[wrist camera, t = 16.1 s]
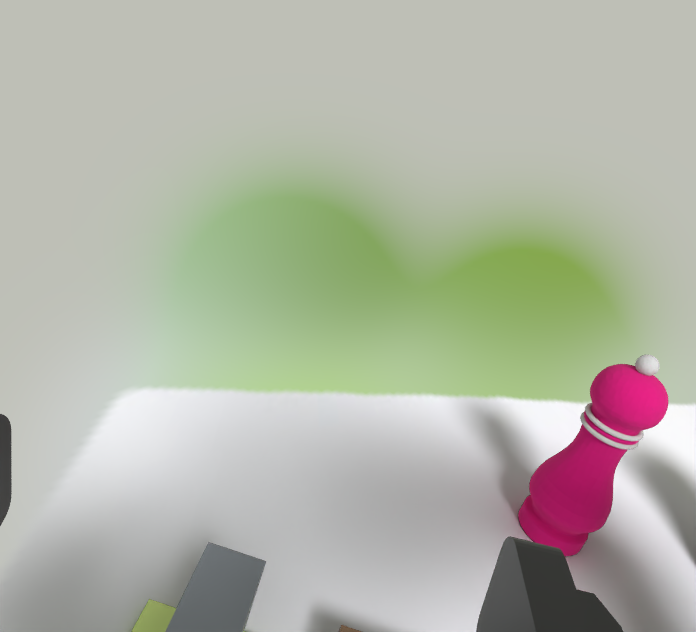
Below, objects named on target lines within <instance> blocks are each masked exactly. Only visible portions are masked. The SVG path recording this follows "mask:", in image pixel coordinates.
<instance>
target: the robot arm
mask: <svg viewBox="0 0 696 632" xmlns="http://www.w3.org/2000/svg"><path fill="white" fill-rule="evenodd" d="M10 502H11V425H10V422H9V420H8V418H7V417H6V416H4V415H2V414H0V525H1V524H2V522H3V520H4V518H5V516H6V514H7V512H8V509H9V506H10ZM476 632H623V630H622V628H621V626H620V625H619V624H618V623H617V621H616V620H615V619H614V618H613V616H612V615H611V614H610V613H609V611H608V610H607V609H606V608H605V607H604V605H603V604H602V603H601V602H600V600H599V599H598V598H597V597H596V595H595V594H593V593H589V592H584V591H580V590H576V587H575V585H574V582H573V579H572V576H571V573H570V570H569V567H568V565H567V562H566V559H565V556H564V554H563V552H562V551H561V549H559V548H556V547H552V546H548V545H543V544H539V543H535V542H531V541H526V540H522V539H518V538H514V537H508V538H507V539H506V540H505V541H504V543H503V545H502V548H501V551H500V554H499V557H498V560H497V563H496V566H495V569H494V572H493V575H492V578H491V581H490V584H489V588H488V591H487V594H486V597H485V600H484V603H483V606H482V609H481V612H480V615H479V619H478V624H477V631H476Z"/></svg>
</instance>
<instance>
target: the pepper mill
mask: <svg viewBox="0 0 696 632" xmlns="http://www.w3.org/2000/svg"><path fill="white" fill-rule="evenodd" d="M659 366H660V365H659V361H658V360H657V359H656V358H655V357H654V356H652V355H642V356H640V357H639V358H638V359H637V360H636V363H635V366H632V365H627V364H617V365H613V366H609V367H607V368H606V369H604V370H602V371H601V372H600V373H599V374H598V375H597V376H596V378H595V379H594V381H593V383H592V385H591V388H590V396H591V399H592V403H589V404H588V405H587V406H586V407H585V412H583V413H582V414H581V417H580V419H581V422H582V426H581V429H580V431H579V433H578V435H577V436H576V438H575V439H574V441H573V442H572V443H571V444H570V445H569V446H568V447H566V448H565V449H563V450H562V451H561V452H559V453H557V454H556V455H554V456H552V457H551V458H549V459H548V460H546V461H545V462H544V463H543V464H541V465H540V466H539V467H538V469H537V470H536V471H535V473H534V474H533V476H532V477H531V480H530V483H529V489H530V494H531V495H529V496H528V497H527V498H526V499H525V501H524V503H523V505H522V506H521V508H520V510H519V513H518V518H519V521H520V525H521V527H522V528H523V530H524V531H525V533H526V534H527V535H528V536H529V537H530V538H531V540H533V541H534V542H535V543H539V544H543V545H548V546H552V547H556V548H559V549H561V551H562V552H563V554H564V556H572V555H575V554H577V553H578V552H579V551H580V550H581V548H582V546H583V545H584V543H585V542H586V540H587V538H588V533H590V532H594V531H596V530H598V529H600V528H601V527H602V526H603V525H604V524H605V522H606V520H607V518H608V516H609V514H610V511H611V506H612V501H613V479H614V473H615V469H616V467H617V465H618V463H619V461H620V459H621V457H622V456H623V455H624V454H625V452H626V451H627V450H631V449H634V448H636V447H637V446H638V441H639V440H641V439H642V438H643V435H644V434H643V430H645V429H649V428H652V427H654V426H656V425H657V424H658V423H659V422H660V421H661V420H662V419H663V417H664V415H665V413H666V411H667V408H668V395H667V392H666V390H665V388H664V386H663V384H662V383H661V382H660V381H659V380H658V379H657V378H656V377H655V376H653V375H654V374H656V373H657V371H658V370H659Z"/></svg>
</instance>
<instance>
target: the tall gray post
mask: <svg viewBox="0 0 696 632" xmlns="http://www.w3.org/2000/svg"><path fill="white" fill-rule="evenodd" d="M265 563H266V561H264V560H261V559H258V558H255V557H252V556H249V555H246V554H243V553H240V552H237V551H234V550H231V549H228V548H225V547H222V546H219V545H216V544H213V543H210V542H208V544H207V547H206V549H205V551H204V553H203V555H202V557H201V559H200V561H199V563H198V565H197V567H196V569H195V571H194V573H193V575H192V577H191V580H190V582H189V584H188V586H187V588H186V590H185V592H184V594H183V596H182V598H181V600H180V602H179V604H178V606H177V608H176V610H175V613H174V615H173V617H172V619H171V621H170V623H169V625H168V627H167V629H166V631H165V632H244V629H245V626H246V623H247V620H248V616H249V613H250V610H251V607H252V604H253V601H254V598H255V595H256V591H257V588H258V585H259V582H260V579H261V576H262V573H263V569H264V566H265Z"/></svg>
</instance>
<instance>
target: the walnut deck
mask: <svg viewBox="0 0 696 632" xmlns="http://www.w3.org/2000/svg"><path fill="white" fill-rule="evenodd" d="M339 632H361V631H358V630H355V629H352V628H349V627H347V626H344V625H341V627H340V629H339Z"/></svg>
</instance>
